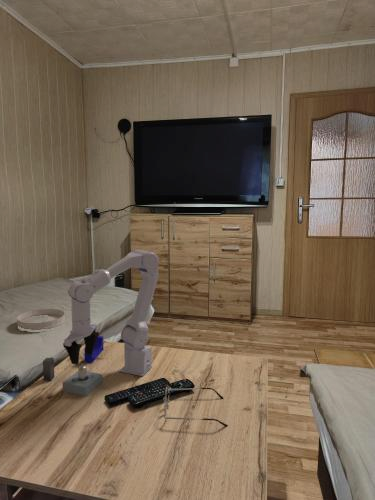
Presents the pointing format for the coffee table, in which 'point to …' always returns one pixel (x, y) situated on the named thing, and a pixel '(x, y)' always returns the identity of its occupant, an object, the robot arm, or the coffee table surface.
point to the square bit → (48, 369)
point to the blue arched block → (95, 350)
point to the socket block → (82, 383)
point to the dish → (54, 318)
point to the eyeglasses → (187, 418)
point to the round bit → (82, 373)
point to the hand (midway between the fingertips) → (82, 358)
